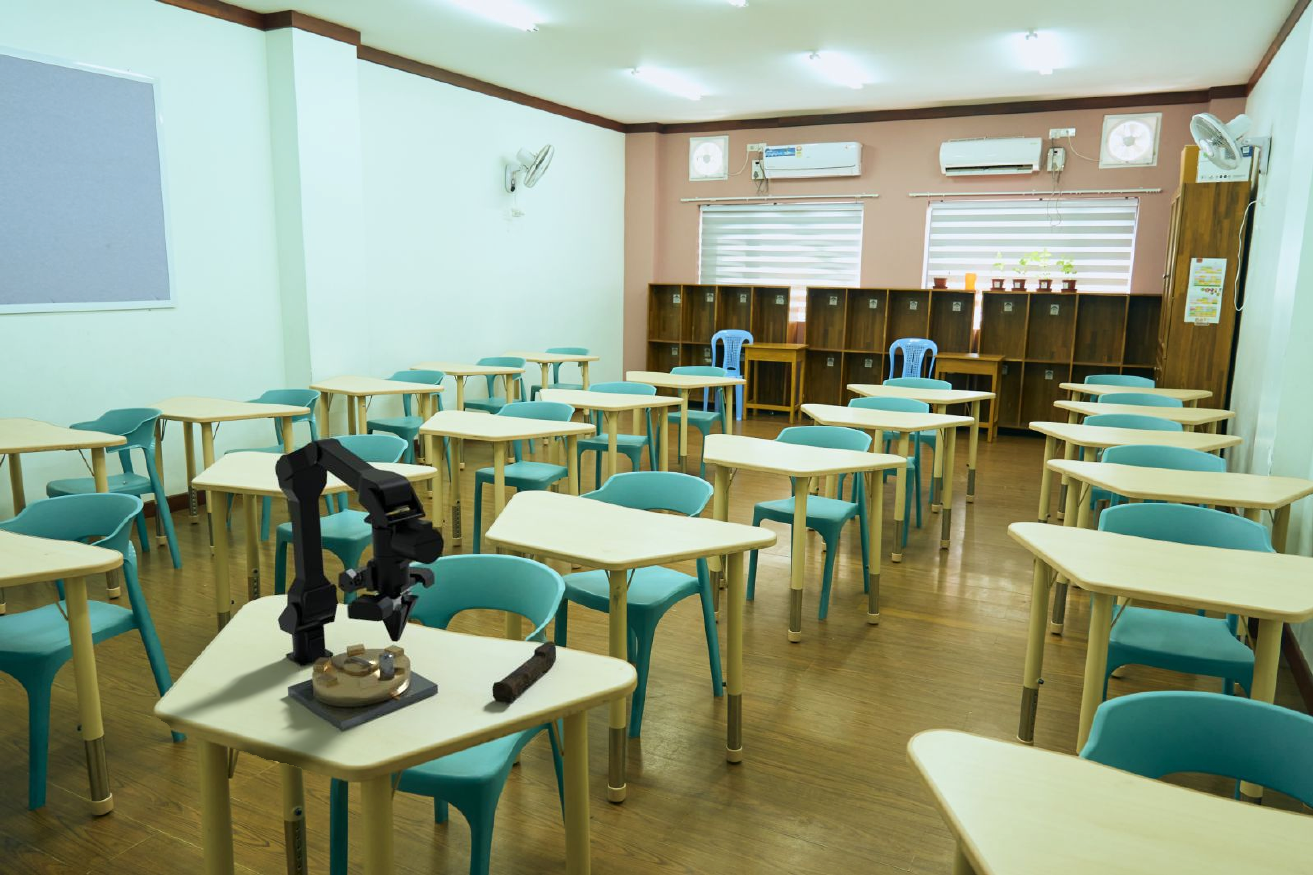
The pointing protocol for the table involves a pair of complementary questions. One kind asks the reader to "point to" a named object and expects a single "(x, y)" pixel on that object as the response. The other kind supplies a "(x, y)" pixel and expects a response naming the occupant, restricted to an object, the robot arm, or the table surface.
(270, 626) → the table surface
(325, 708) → the base plate
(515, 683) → the rough bark branch
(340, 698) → the ring nut
